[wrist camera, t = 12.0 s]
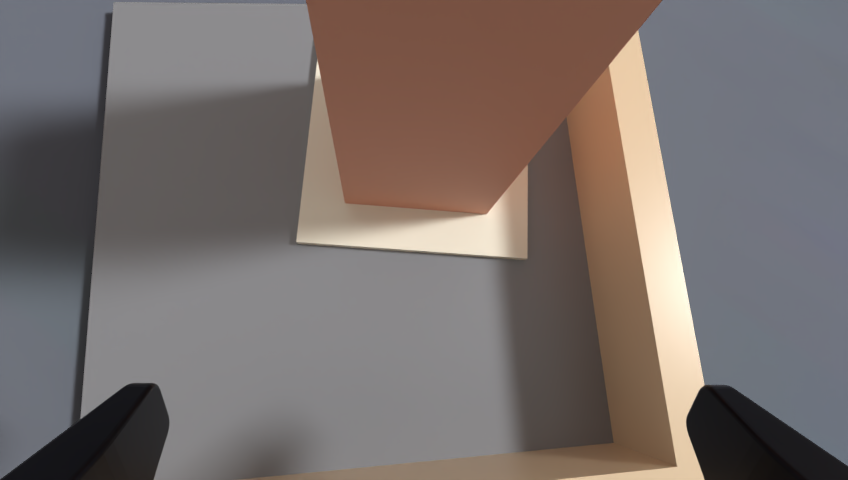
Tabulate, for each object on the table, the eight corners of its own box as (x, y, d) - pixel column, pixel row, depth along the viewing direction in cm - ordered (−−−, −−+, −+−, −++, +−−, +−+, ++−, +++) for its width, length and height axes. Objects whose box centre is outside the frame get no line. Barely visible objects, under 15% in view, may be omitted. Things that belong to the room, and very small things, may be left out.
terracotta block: (486, 214, 17) (718, -69, 6) (345, 203, 17) (281, -129, 5) (489, 87, 18) (687, -365, 7) (356, 74, 18) (326, -434, 6)
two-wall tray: (645, 474, 17) (728, 511, 13) (80, 534, 15) (-26, 600, 11) (573, 14, 21) (620, -64, 17) (120, 11, 18) (53, -80, 15)
